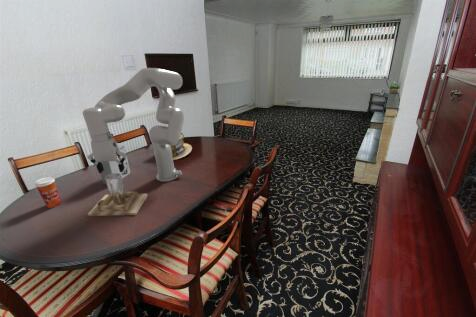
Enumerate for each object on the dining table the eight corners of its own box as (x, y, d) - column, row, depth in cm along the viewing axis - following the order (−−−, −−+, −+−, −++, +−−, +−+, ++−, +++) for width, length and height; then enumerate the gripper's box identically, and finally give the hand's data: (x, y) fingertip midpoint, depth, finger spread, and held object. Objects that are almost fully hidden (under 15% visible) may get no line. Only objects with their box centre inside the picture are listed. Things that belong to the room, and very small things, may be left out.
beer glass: (116, 199, 119) (108, 173, 113) (130, 198, 119) (123, 172, 113) (110, 207, 113) (101, 180, 106) (125, 206, 113) (117, 179, 107)
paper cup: (48, 211, 113) (37, 186, 108) (41, 206, 117) (30, 181, 111) (66, 202, 119) (57, 178, 114) (59, 198, 123) (49, 174, 117)
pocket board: (147, 195, 124) (146, 189, 122) (135, 214, 109) (134, 208, 108) (105, 196, 124) (104, 190, 122) (88, 216, 109) (86, 209, 108)
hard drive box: (114, 185, 134) (105, 153, 126) (103, 184, 136) (93, 152, 127) (131, 172, 148) (124, 143, 140) (120, 171, 150) (112, 142, 141)
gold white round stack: (171, 163, 159) (167, 140, 152) (151, 154, 174) (147, 133, 167) (199, 152, 176) (196, 130, 169) (178, 145, 191) (176, 125, 184)
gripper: (124, 132, 105) (133, 166, 113) (86, 134, 105) (97, 168, 113) (116, 139, 98) (127, 174, 106) (75, 140, 98) (89, 176, 106)
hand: (112, 171), depth 109 cm, fingers open, 9 cm apart
